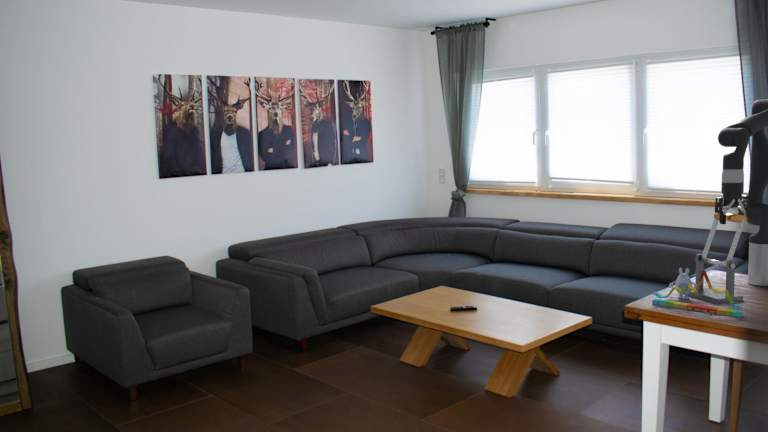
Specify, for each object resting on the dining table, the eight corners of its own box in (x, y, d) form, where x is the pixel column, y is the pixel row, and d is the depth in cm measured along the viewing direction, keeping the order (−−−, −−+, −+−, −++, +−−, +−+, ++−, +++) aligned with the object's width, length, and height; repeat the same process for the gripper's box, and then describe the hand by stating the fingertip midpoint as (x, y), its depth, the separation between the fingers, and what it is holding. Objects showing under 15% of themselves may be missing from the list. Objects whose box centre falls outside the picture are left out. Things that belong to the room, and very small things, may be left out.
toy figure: (667, 299, 263) (668, 268, 262) (669, 295, 269) (669, 265, 267) (698, 301, 258) (698, 270, 257) (698, 297, 264) (699, 267, 263)
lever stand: (708, 291, 273) (709, 252, 271) (745, 301, 256) (746, 259, 254) (684, 294, 269) (685, 254, 267) (719, 305, 252) (720, 262, 250)
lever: (704, 262, 267) (720, 213, 268) (730, 268, 255) (748, 217, 255) (698, 260, 266) (715, 211, 267) (724, 266, 254) (742, 214, 254)
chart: (651, 305, 257) (652, 266, 255) (655, 303, 259) (655, 264, 257) (739, 318, 236) (740, 275, 234) (742, 316, 238) (743, 274, 236)
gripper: (739, 179, 265) (738, 220, 267) (710, 181, 261) (709, 223, 263) (755, 180, 258) (754, 223, 260) (725, 182, 254) (724, 226, 256)
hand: (731, 223), depth 261 cm, fingers open, 8 cm apart
